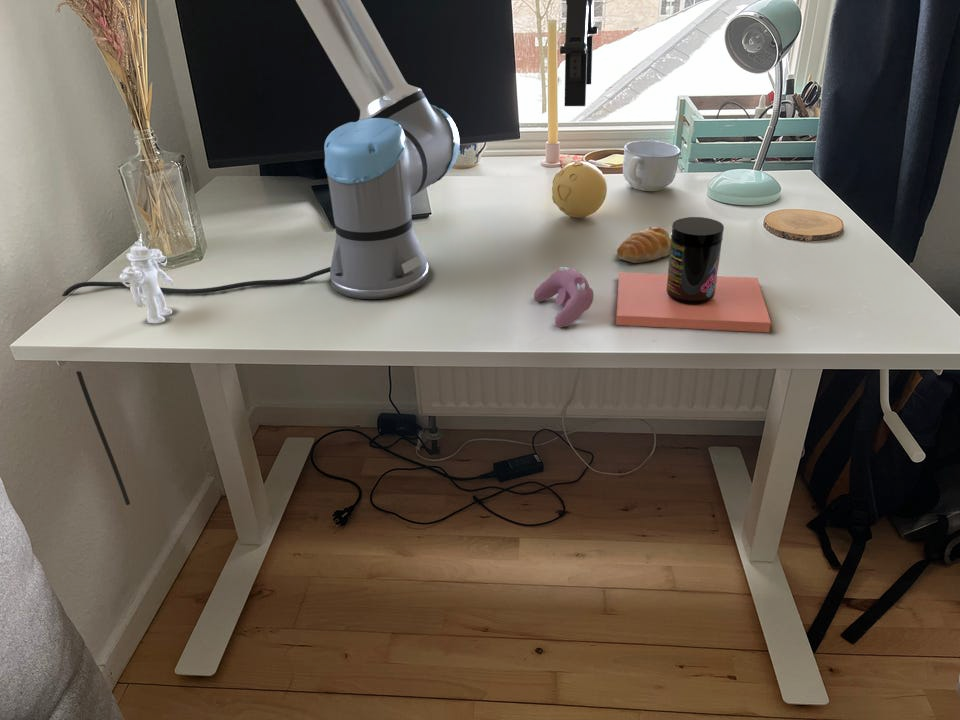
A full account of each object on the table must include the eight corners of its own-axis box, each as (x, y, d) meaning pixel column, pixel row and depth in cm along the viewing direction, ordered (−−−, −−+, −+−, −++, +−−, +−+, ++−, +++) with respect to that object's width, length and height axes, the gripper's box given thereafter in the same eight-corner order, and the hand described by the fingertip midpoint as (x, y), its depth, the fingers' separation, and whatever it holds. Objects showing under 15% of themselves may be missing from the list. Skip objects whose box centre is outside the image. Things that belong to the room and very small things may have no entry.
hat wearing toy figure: (163, 302, 115) (141, 228, 109) (186, 303, 114) (166, 228, 108) (130, 331, 108) (105, 253, 101) (155, 332, 107) (131, 254, 101)
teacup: (643, 174, 158) (646, 136, 154) (687, 185, 151) (691, 145, 147) (600, 191, 150) (602, 151, 146) (645, 203, 143) (648, 162, 139)
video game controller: (581, 335, 104) (604, 291, 102) (554, 327, 102) (577, 282, 100) (555, 305, 112) (576, 263, 110) (529, 297, 110) (550, 254, 108)
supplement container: (695, 311, 103) (704, 239, 97) (655, 295, 107) (661, 226, 102) (724, 295, 106) (734, 225, 101) (684, 281, 111) (692, 213, 105)
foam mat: (615, 325, 103) (616, 315, 103) (618, 281, 115) (619, 272, 114) (769, 332, 100) (771, 322, 99) (756, 286, 112) (757, 277, 111)
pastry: (637, 269, 118) (639, 247, 116) (605, 257, 123) (606, 235, 121) (676, 253, 123) (678, 231, 121) (644, 242, 128) (645, 220, 126)
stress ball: (600, 205, 144) (603, 152, 139) (609, 224, 135) (612, 169, 130) (548, 207, 144) (548, 155, 139) (554, 226, 135) (555, 171, 130)
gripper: (610, -81, 83) (601, 116, 94) (616, -86, 104) (609, 75, 115) (542, -78, 85) (541, 116, 96) (561, -84, 106) (559, 76, 117)
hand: (578, 94), depth 105 cm, fingers open, 13 cm apart
